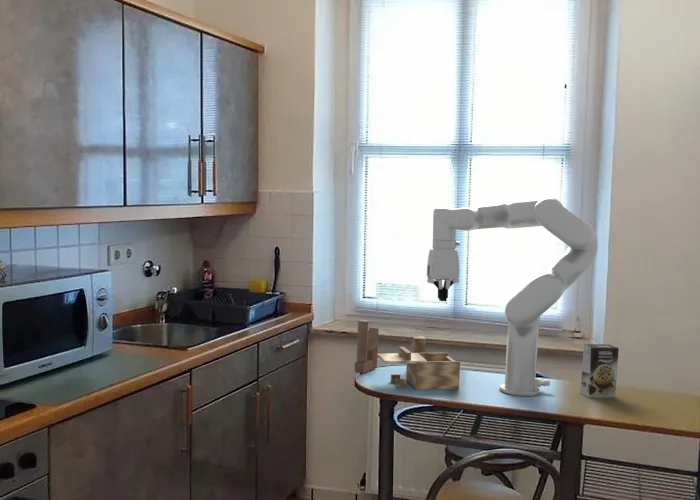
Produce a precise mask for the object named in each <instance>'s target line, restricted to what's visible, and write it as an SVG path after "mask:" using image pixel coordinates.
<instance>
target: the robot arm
mask: <svg viewBox="0 0 700 500" xmlns="http://www.w3.org/2000/svg"><path fill="white" fill-rule="evenodd" d="M432 215H433V216H432V217H433V218H432V219H433V220H432V248H430V249H429V251H428V256H427V257H428V259H427V264H426V278H427V279H426V282H427V283H429V284H432V285H434V286H435V287H436V288H437V299H438V300H439V302H447V299H448V298H449V289H450V288H451V287H452V285H454V284H458V283H460V278H459V277H460V273H461V272H460V258H459V251H458V249H457V247H459V246H460V241H457V230H458V231H468V232H469V231H474V230H483V229H498V228H500V229H501V228H503V229H521V228H531V227H532V228H533V227H543V228H544V229H545V230H547V231H548V232H550V233H551V234H552V235H553V236H555V237H556V238H557V239H558V240H560V241H561V242H562V243H563V244H565V245H566V246H567V249H566V250H565V252H564V253H563V254H562V255H560V256H559V257H558V258H557V259H556V260H555V261H554V262H553V263H552V264H551V265H550V266H548V267H547V268H546V269H545V270H544V271H542V272H540V273H539V274H537V276H535V277H534V278H533V279H532V280H531V281H530V282H529V283H528V284H526V285H525V286H524V287H523V288H522V289H520V291H519V292H518V293H517V294H515V295H514V296H513V297H512V298H511V299H510V300H508V302H507V304H506V305H505V309H504V315H505V318H506V320H507V322H508V323H507V324H508V325H507V337H506V338H507V340H506V353H505V354H506V355H505V356H506V357H505V372H504V374H505V375H504V383H502V384H500V385H499V390H500V391H501V393H504V394H508V395H512V396H520V397H535V396H538V395H539V394H540V392H541V389H540V388H541V387H542V386H543V387H550V385H551V382H550V379H542V378H537V377H536V375H537V361H538V360H537V358H538V345H539V344H538V343H539V330H540V329H539V327H540V326H539V325H540V319H541V316H542V315H543V314H544V313H546V311H547V310H549V309H550V308H551V307H552V306H553V305H554V304H555V303H557V302H558V301H559V300H560V299H561V298H562V296H563V294H564V293H565V291H566V290H567V289H568V288H569V287H571V285H573V284H574V283H575V282H576V281H577V280H578V279H579V278H580V277H581V276H582V275H583V274H584V273H585V272H586V271H587V270H588V269H589V268H590V267H591V265H592V264H593V262H594V261H595V258H596V256H597V253H598V246H599V245H598V237H597V234H596V230H595V229H594V227H593V225H592V224H591V223H589V222H587V221H586V220H582V219H581V218H579V217H578V216H577V215H575V214H574V213H572V212H571V211H569V210H568V209H567V208H566V207H565V206H563V203H562V202H561V201H560V200H559V199H556V198H553V197H546V198H537V199H527V200H514V201H513V200H512V201H507V202H504V203H500V204H492V205H491V204H490V205H483V206H482V205H481V206H468V207H459V208H454V207H443V206H442V207H441V206H440V207H435V208H434V210H433V214H432ZM443 281H444V282H443Z"/></svg>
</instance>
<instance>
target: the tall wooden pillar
mask: <svg viewBox="0 0 700 500" xmlns="http://www.w3.org/2000/svg"><path fill="white" fill-rule="evenodd" d="M426 344H427V338H426V337H425V336H423V335H422V336H421V335H417V336H416V335H412V336H411V349H410V352H411V353H426V346H427V345H426Z"/></svg>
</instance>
